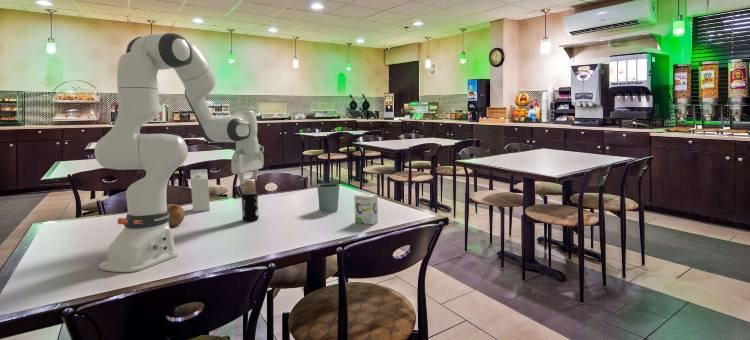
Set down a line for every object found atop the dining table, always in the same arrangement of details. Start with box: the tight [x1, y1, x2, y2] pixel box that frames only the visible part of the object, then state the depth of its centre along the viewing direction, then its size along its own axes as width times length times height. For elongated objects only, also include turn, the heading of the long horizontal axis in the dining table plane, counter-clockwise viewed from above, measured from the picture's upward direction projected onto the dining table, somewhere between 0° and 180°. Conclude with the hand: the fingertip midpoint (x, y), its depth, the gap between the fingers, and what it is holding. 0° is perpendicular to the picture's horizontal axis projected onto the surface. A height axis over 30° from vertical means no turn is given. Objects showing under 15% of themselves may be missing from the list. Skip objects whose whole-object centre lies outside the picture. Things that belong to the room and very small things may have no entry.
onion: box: [167, 203, 186, 227], centre depth 172 cm, size 10×9×10 cm
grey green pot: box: [316, 183, 340, 213], centre depth 196 cm, size 10×10×12 cm
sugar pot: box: [242, 178, 256, 193], centre depth 178 cm, size 5×5×5 cm
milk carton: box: [190, 168, 211, 213], centre depth 197 cm, size 7×7×19 cm
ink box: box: [353, 192, 379, 226], centre depth 174 cm, size 9×5×12 cm, turn 62°
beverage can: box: [241, 190, 260, 223], centre depth 179 cm, size 7×7×12 cm
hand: (248, 181), depth 177 cm, fingers open, 8 cm apart
